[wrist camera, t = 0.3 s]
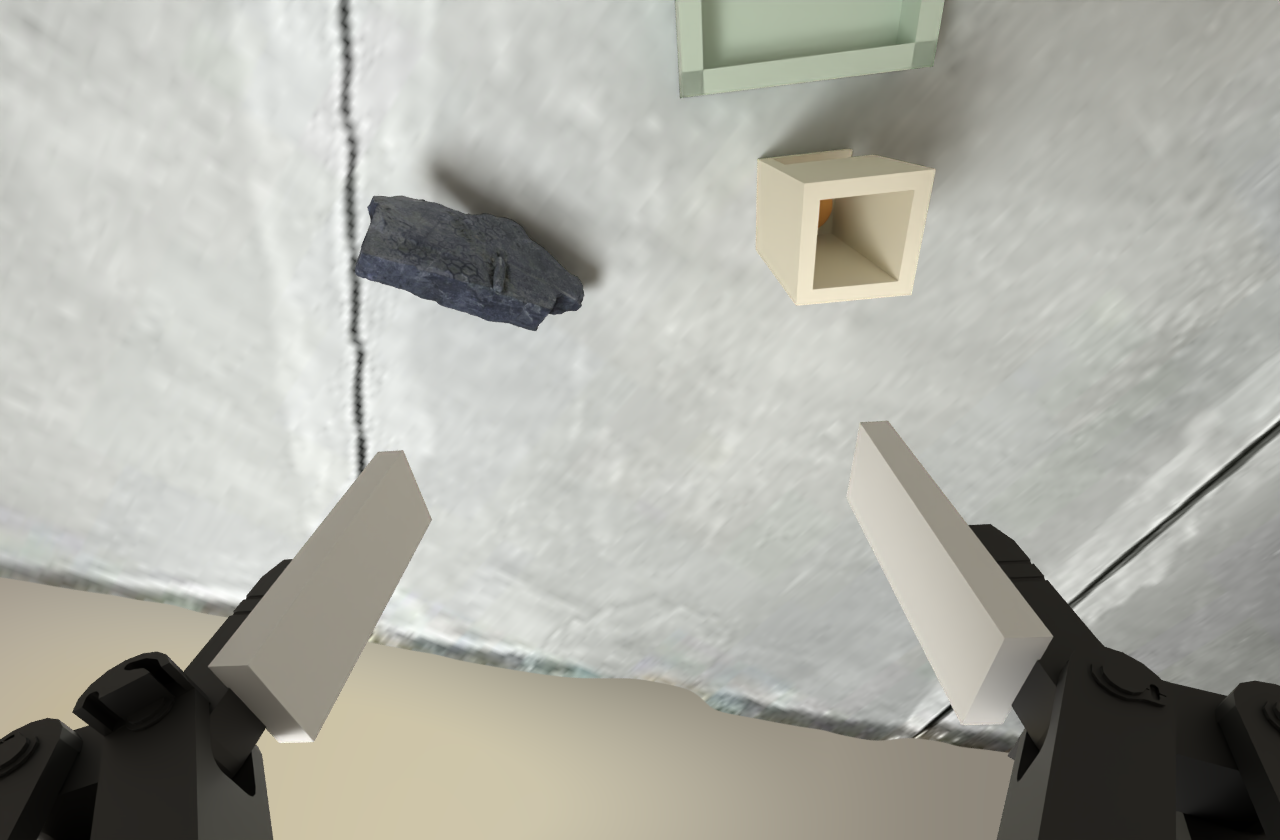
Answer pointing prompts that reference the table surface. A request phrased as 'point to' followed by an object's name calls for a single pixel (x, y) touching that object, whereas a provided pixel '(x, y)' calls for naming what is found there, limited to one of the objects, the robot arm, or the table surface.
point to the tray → (799, 41)
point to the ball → (824, 211)
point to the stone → (465, 262)
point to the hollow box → (841, 224)
